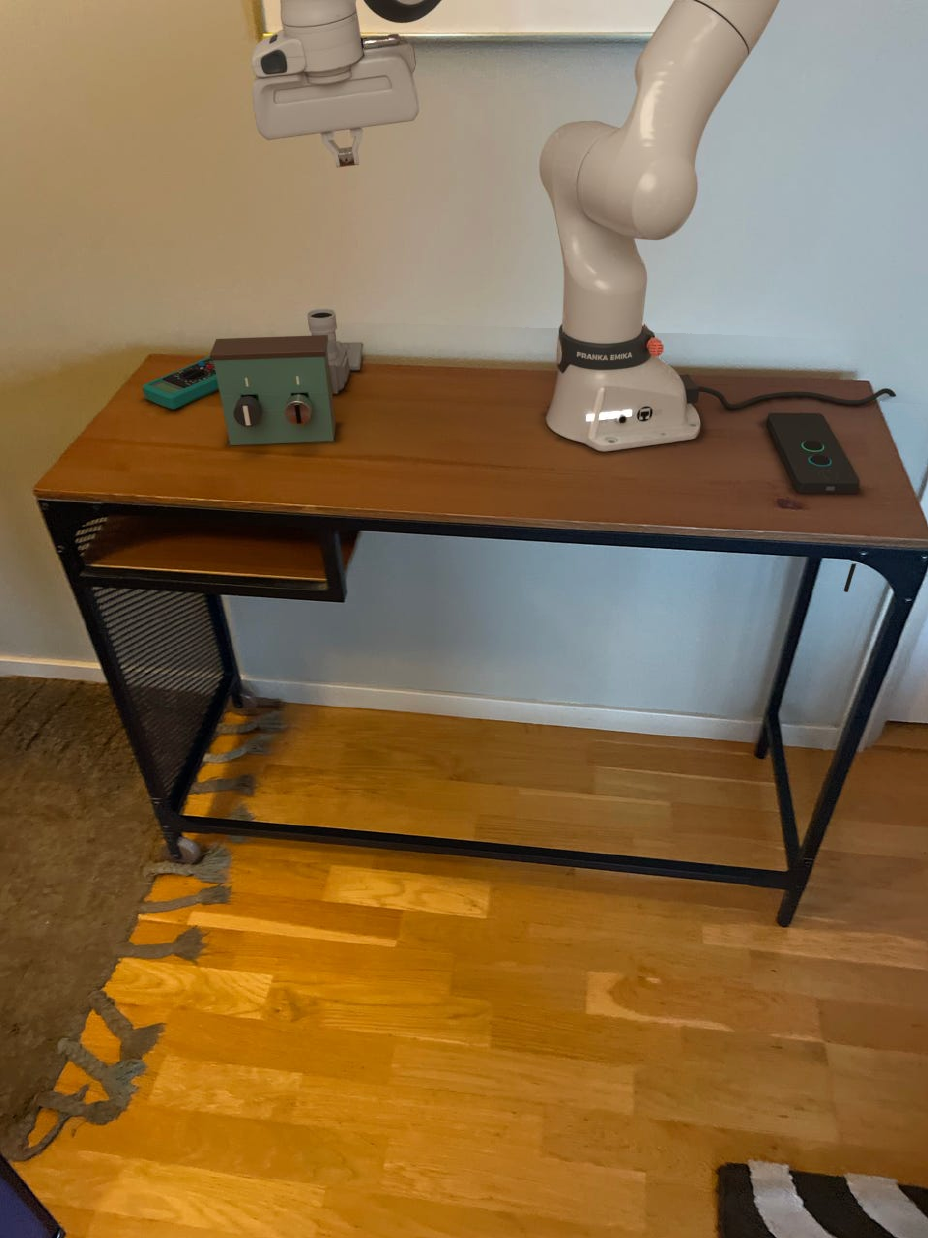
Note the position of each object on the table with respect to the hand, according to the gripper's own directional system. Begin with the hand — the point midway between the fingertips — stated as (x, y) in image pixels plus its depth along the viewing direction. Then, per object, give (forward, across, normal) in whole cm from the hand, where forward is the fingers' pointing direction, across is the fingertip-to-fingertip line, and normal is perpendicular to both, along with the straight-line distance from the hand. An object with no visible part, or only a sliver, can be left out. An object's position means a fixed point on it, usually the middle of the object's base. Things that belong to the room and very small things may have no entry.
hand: (348, 164), depth 118 cm
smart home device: (+38, -58, +23) cm, 73 cm away
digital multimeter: (+33, +32, -4) cm, 46 cm away
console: (+32, +16, +12) cm, 37 cm away
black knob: (+26, +19, +15) cm, 36 cm away
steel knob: (+27, +12, +15) cm, 33 cm away
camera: (+36, +10, -8) cm, 38 cm away
